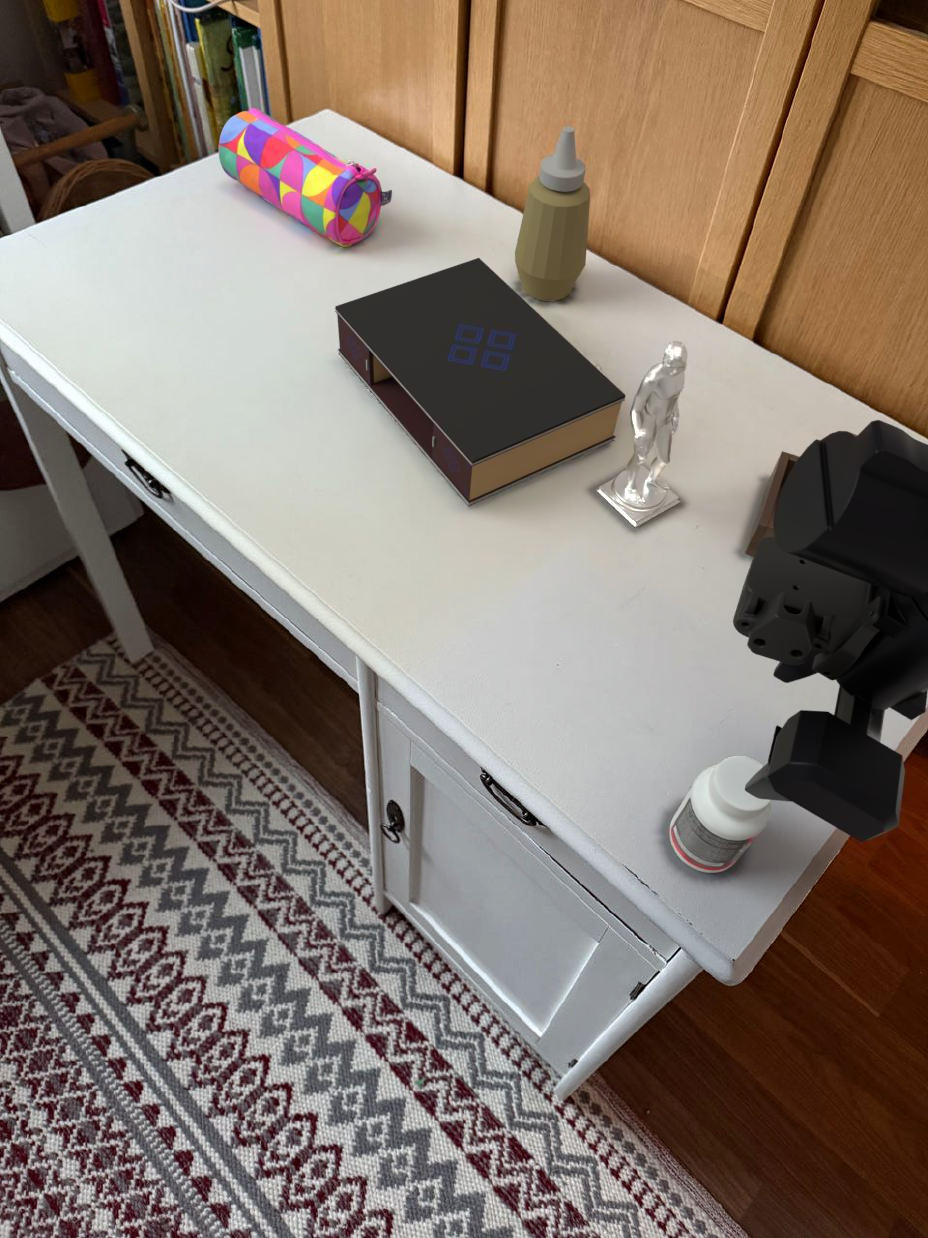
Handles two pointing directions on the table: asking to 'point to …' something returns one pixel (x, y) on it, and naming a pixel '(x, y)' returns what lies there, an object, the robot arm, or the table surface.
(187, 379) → the table surface
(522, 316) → the book
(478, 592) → the table surface
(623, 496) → the figurine
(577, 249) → the squeeze bottle
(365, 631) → the table surface
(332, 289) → the table surface
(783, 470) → the holder
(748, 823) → the pill bottle
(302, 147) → the pencil case
